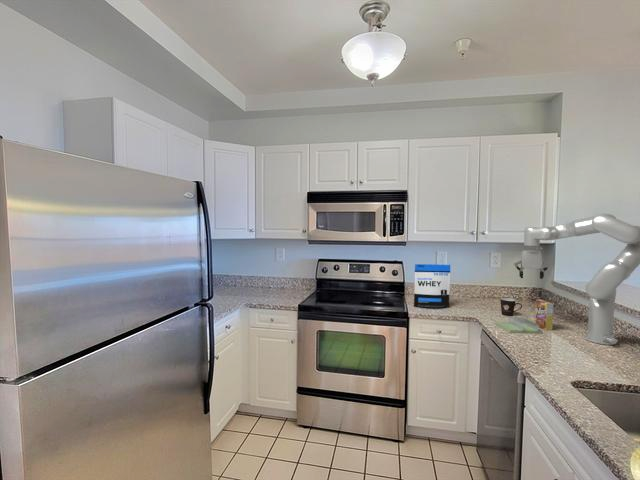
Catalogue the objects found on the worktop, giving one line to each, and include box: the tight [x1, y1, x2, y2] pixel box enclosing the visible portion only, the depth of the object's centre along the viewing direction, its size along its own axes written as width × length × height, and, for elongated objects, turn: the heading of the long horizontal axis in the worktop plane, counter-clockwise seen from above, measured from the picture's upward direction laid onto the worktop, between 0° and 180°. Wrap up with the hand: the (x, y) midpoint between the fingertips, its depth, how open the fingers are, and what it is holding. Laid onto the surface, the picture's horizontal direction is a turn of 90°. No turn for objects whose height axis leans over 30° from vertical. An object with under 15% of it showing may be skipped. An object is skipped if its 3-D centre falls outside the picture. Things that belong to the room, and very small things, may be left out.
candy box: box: [534, 299, 554, 331], centre depth 187 cm, size 9×4×15 cm, turn 2°
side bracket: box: [508, 316, 539, 331], centre depth 183 cm, size 13×8×4 cm, turn 0°
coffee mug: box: [499, 297, 523, 317], centre depth 212 cm, size 12×9×10 cm
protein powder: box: [413, 263, 452, 310], centre depth 230 cm, size 10×24×30 cm, turn 88°
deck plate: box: [493, 320, 543, 334], centre depth 185 cm, size 16×17×2 cm
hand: (531, 278), depth 191 cm, fingers open, 9 cm apart
